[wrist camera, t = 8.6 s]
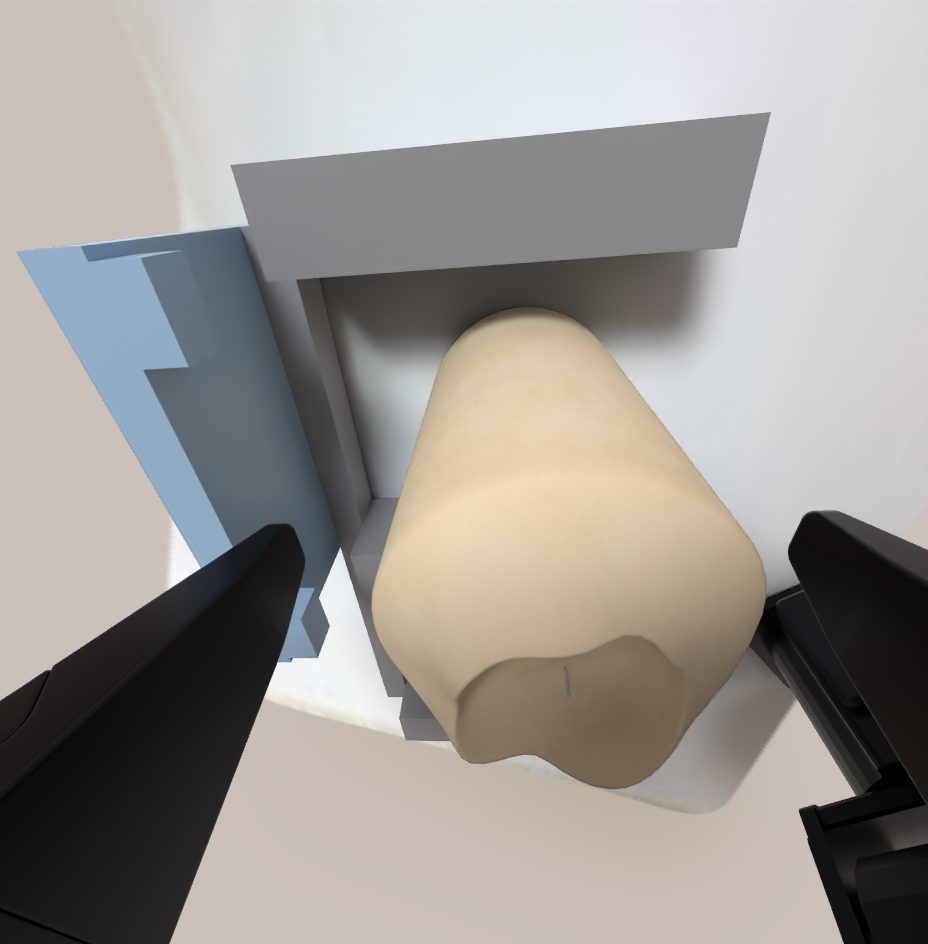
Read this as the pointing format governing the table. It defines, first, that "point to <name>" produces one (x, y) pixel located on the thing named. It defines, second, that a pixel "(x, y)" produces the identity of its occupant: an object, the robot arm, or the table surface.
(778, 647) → the robot arm
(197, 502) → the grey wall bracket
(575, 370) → the candle
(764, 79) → the table surface
